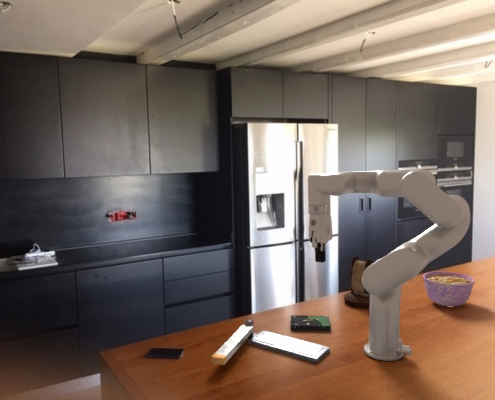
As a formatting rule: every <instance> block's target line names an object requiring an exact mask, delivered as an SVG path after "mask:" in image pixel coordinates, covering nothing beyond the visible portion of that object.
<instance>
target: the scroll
mask: <svg viewBox="0 0 495 400" xmlns="http://www.w3.org/2000/svg"><path fill="white" fill-rule="evenodd" d="M373 263H374V262H373V260H372V258H368V259H366V261H364V260H363V261H362V260H360V257H359V256H357V255H355V256H353V258H352V259H351V260H350V271H349V275H350V276H351V278H350V282H349V283H350V292H347V293H345V294H344V295H343V300H344V303H346V304H347V303H349V304H351V305H356V306H363V309H366V307H367V306H370V293H369V292H367V291H366V290H365V288H364V287H363V284H362V275H363V272H364V271H365V269H366V268H367V267H369V266H370V265H371V264H373Z"/></svg>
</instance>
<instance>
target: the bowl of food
mask: <svg viewBox="0 0 495 400" xmlns="http://www.w3.org/2000/svg"><path fill="white" fill-rule="evenodd" d="M422 276H423V283H424V287H425V288H424V289H425V291H426V294H427V297H428V298H429V299H430V300H431V301H432V302H433V303H435V304H436V305H438V304H439V305H438V306H440V305H442V306H441V307H443V306H457V307H458V306H459V307H460V306H462V305H464V304H466V303H467V301H469V299H470V296H471V294H472V290H473V287H474V284H475V279H474V277H471V276H469V275H466V274H464V273H459V272H454V271H453V272H452V271H430V272H426V273H424V274H423V275H422Z"/></svg>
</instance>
